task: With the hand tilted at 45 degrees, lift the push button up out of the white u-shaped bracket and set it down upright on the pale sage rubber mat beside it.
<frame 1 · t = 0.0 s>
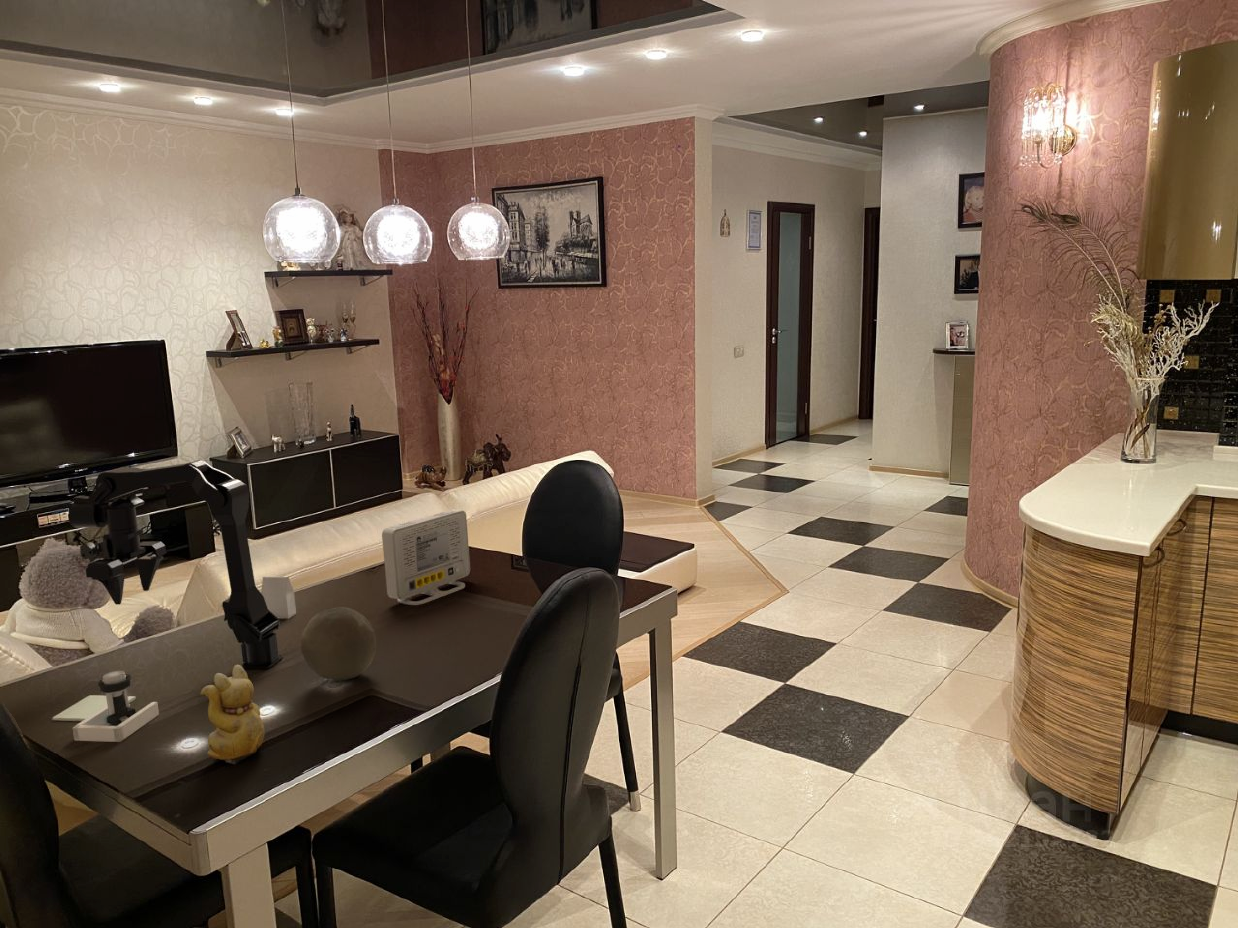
hand: (132, 597, 199), 15 cm above the table, tool pointing down, fingers open, 9 cm apart
push button: (118, 728, 169), on the table
mat: (95, 709, 177), on the table
cantaloupe: (343, 681, 186), on the table
network device: (432, 594, 241), on the table
white u-shaped bracket: (117, 726, 169), on the table
decorative figurine: (241, 755, 157), on the table
white faceted block: (280, 616, 228), on the table
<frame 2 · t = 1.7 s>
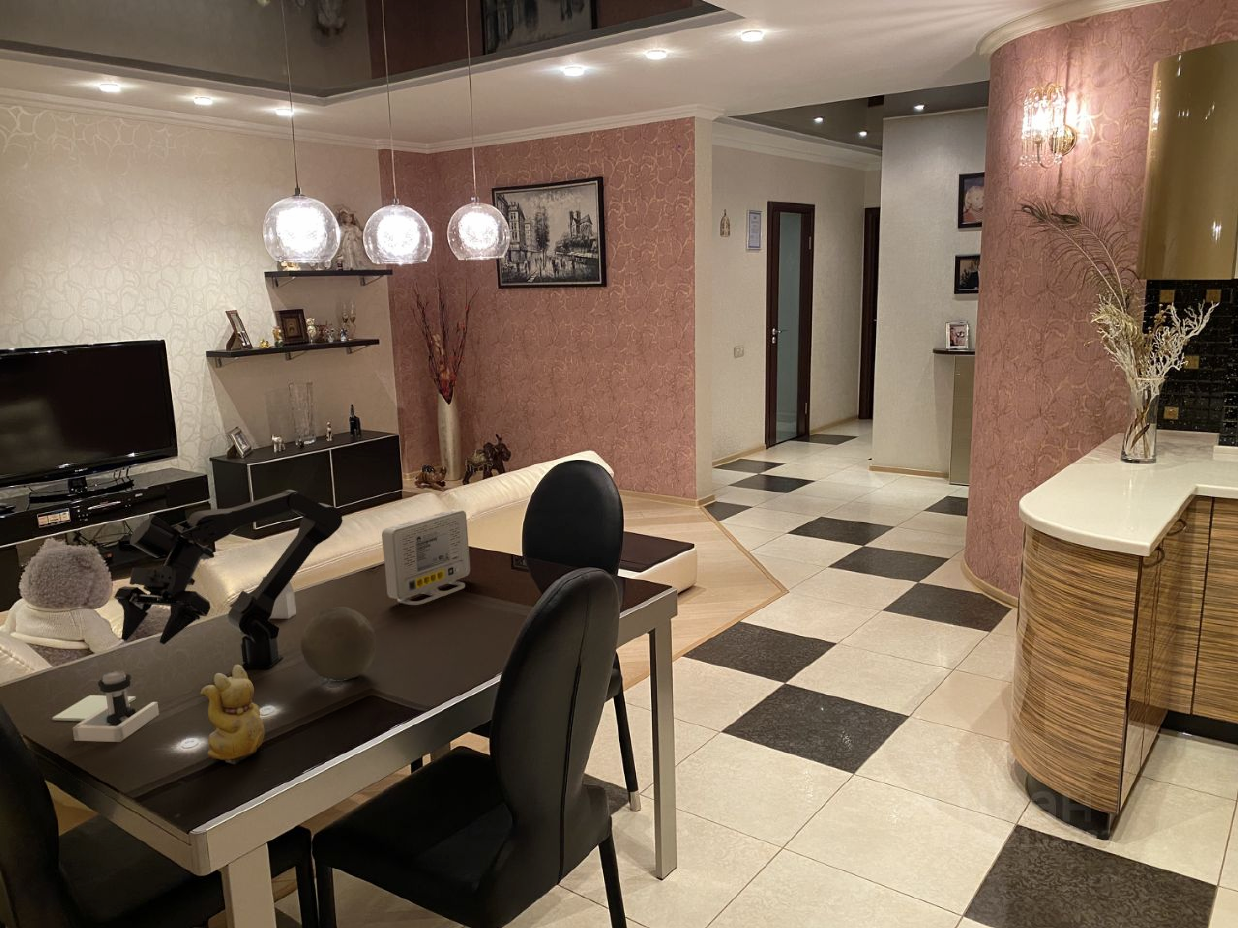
hand: (142, 641, 174), 13 cm above the table, tool tilted 45°, fingers open, 9 cm apart
nothing on the table moved.
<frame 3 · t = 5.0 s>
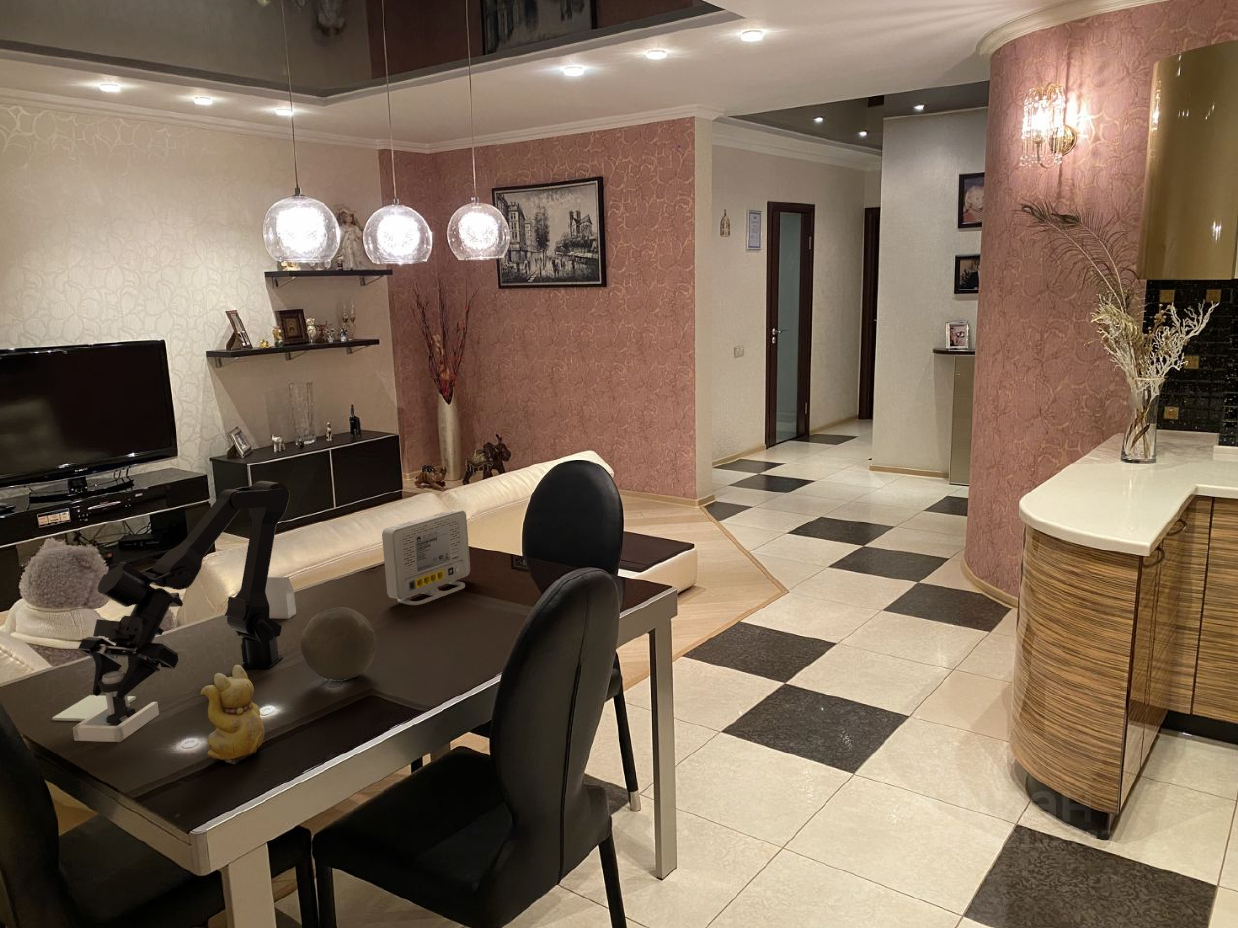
hand: (106, 696, 167), 7 cm above the table, tool tilted 45°, fingers closed on push button, 5 cm apart
push button: (118, 727, 169), on the table, touching gripper
everything else where it was.
when the fingers open (8 cm above the table, at t = 9.2 s): push button stays where it is, resting on mat.
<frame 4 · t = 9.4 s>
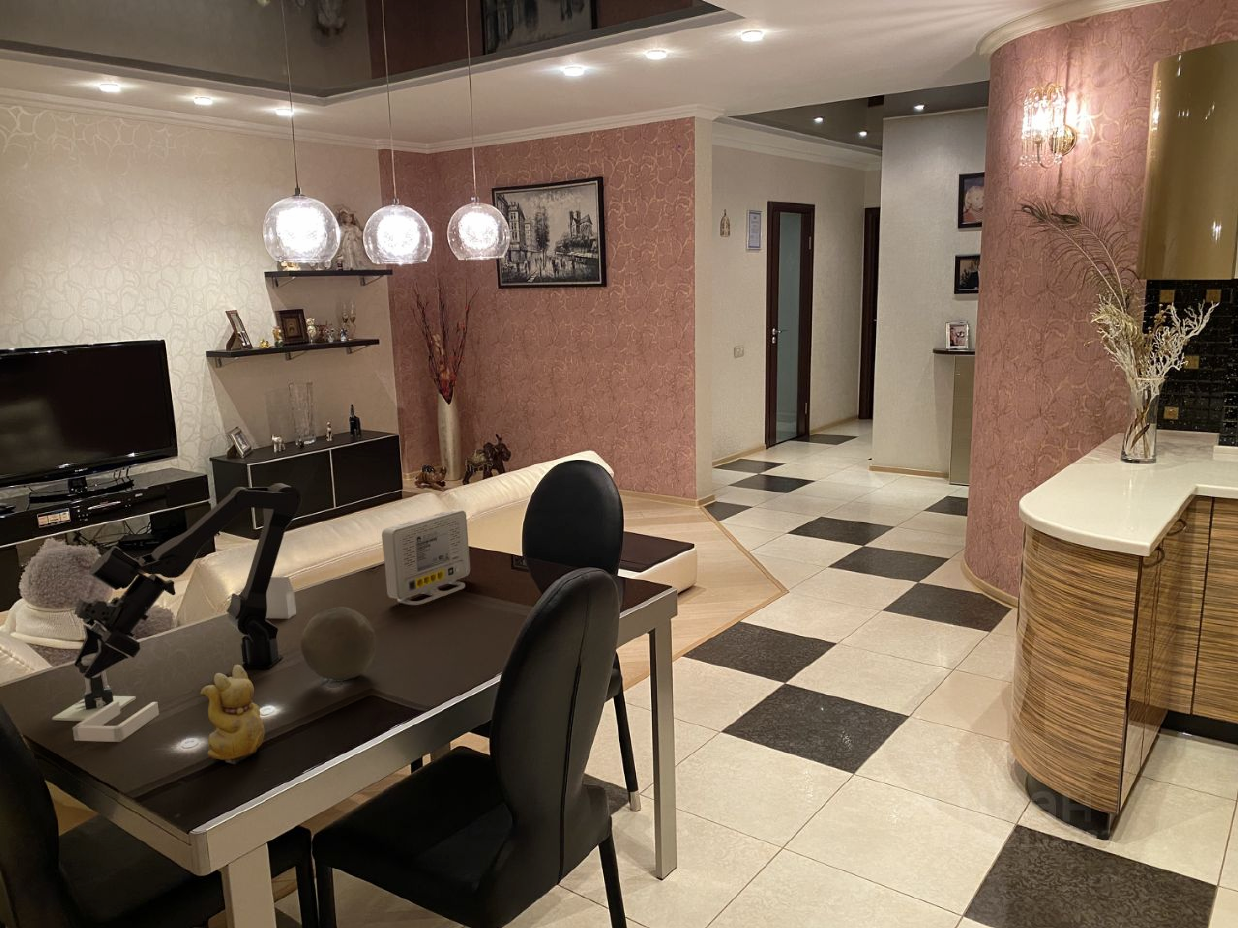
hand: (81, 671, 175), 8 cm above the table, tool tilted 45°, fingers open, 8 cm apart
push button: (96, 707, 177), resting on mat
everything else where it was.
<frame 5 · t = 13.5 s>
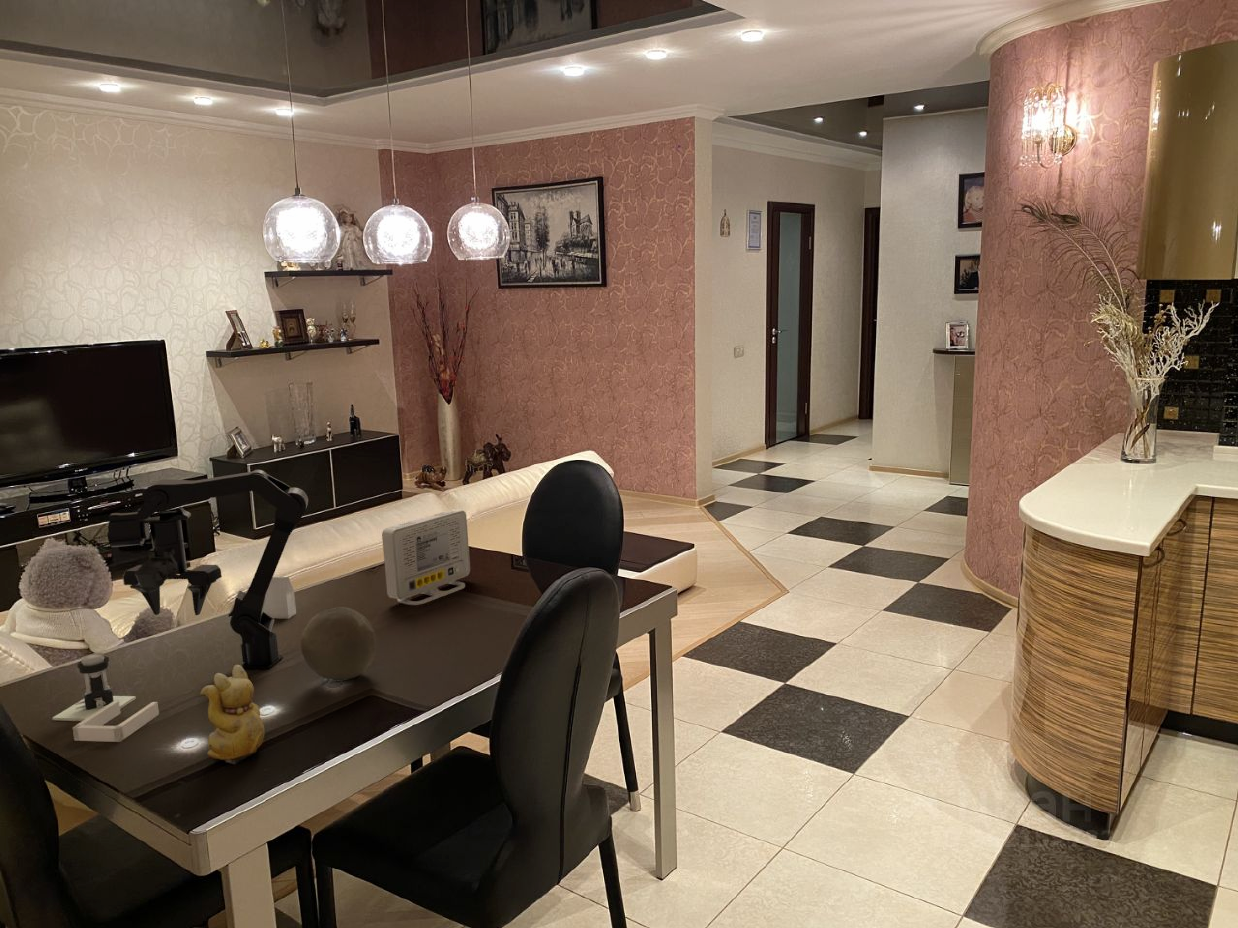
hand: (177, 614, 191), 13 cm above the table, tool pointing down, fingers open, 9 cm apart
nothing on the table moved.
at the end: push button inside the target area on the mat (0.1 cm from its centre), point 0.3 cm above the mat's base; push button tilted 0°; the gripper is holding nothing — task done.
